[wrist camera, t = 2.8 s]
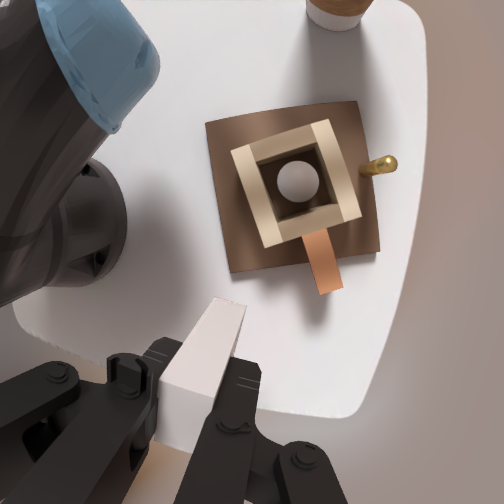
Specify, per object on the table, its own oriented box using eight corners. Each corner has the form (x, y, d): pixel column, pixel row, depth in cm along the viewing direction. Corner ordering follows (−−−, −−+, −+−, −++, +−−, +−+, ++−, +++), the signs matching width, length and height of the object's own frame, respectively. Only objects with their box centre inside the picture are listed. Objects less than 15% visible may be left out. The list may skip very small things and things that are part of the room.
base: (232, 269, 29) (218, 290, 23) (208, 125, 26) (187, 108, 20) (376, 249, 27) (400, 264, 21) (354, 104, 25) (371, 82, 18)
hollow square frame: (238, 157, 26) (230, 150, 22) (321, 129, 24) (328, 118, 20) (284, 290, 27) (284, 306, 24) (364, 264, 26) (377, 275, 22)
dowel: (359, 177, 25) (383, 172, 18) (357, 164, 25) (380, 155, 18) (371, 176, 25) (398, 171, 18) (369, 163, 24) (396, 154, 18)
